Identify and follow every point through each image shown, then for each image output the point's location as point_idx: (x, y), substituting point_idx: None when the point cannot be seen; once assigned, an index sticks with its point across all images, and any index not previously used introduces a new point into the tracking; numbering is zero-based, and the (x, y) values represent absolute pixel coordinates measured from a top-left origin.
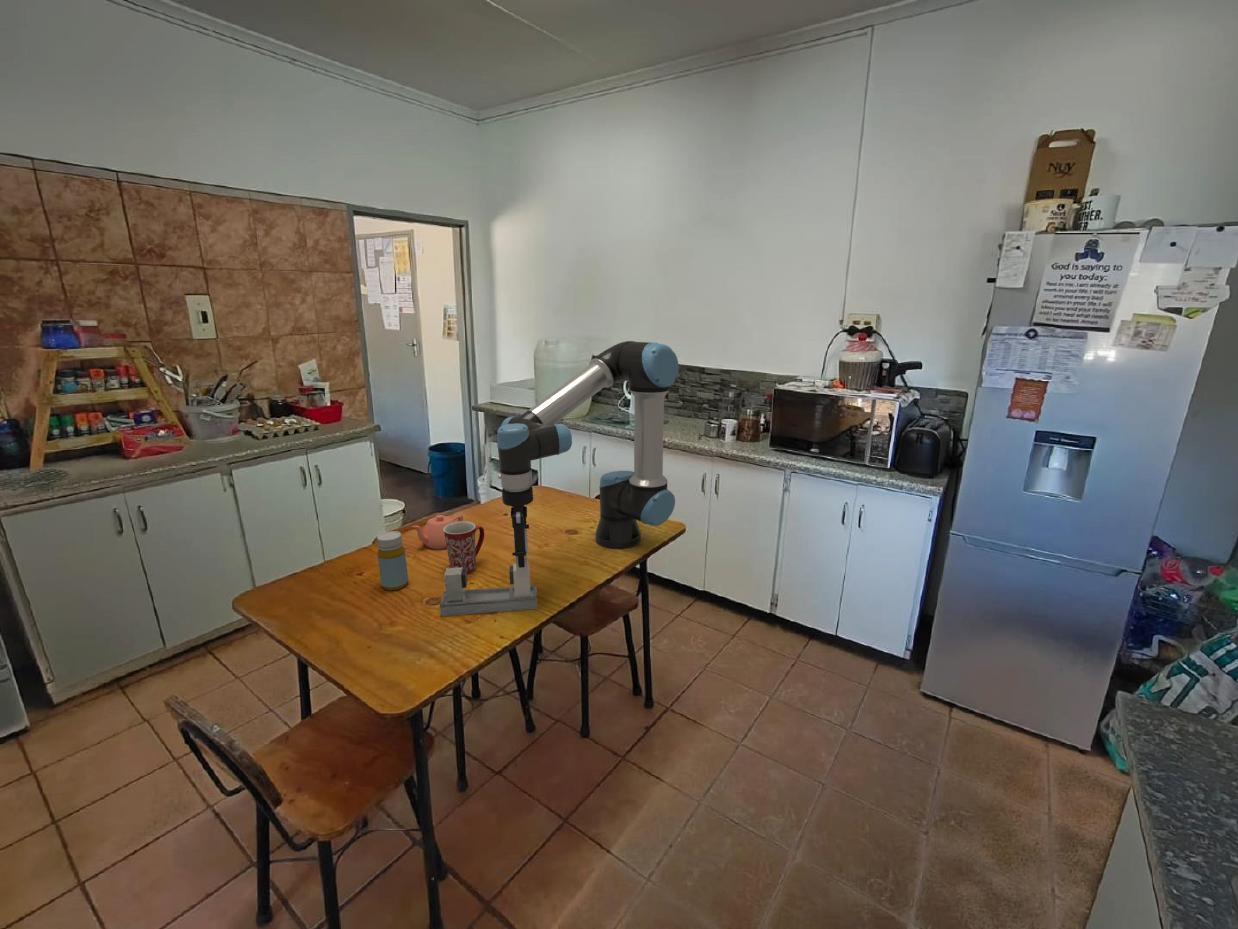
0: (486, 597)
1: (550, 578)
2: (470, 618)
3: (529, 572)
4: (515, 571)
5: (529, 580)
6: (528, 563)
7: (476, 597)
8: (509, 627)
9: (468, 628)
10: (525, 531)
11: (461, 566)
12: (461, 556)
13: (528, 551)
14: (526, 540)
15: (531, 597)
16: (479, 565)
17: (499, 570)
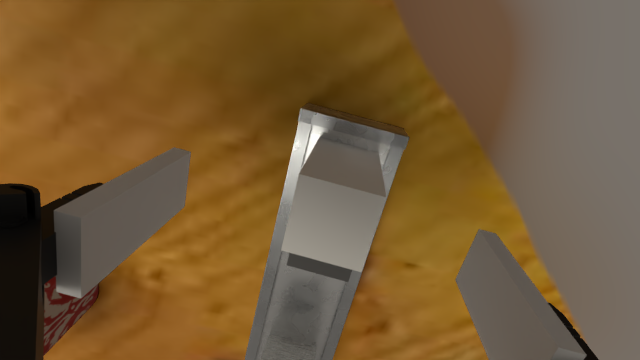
0: (311, 285)
1: (194, 11)
2: (364, 319)
3: (331, 167)
4: (364, 259)
5: (382, 176)
6: (307, 179)
7: (299, 310)
8: (471, 238)
9: (414, 333)
10: (85, 226)
11: (77, 309)
12: (48, 335)
13: (176, 149)
14: (140, 188)
15: (395, 155)
16: None
17: (88, 181)
